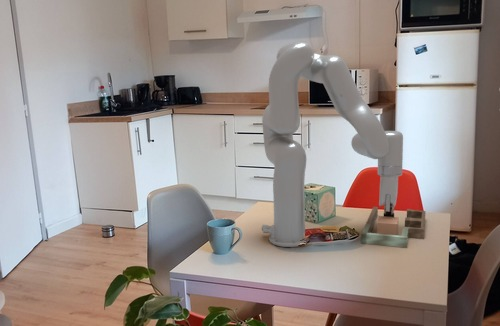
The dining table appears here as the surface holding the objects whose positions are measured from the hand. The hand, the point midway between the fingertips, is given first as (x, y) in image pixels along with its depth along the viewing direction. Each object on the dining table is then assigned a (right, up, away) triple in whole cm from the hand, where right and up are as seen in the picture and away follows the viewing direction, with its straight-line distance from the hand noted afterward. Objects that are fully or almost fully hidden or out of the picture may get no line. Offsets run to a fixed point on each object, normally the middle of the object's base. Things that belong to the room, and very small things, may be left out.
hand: (388, 225), depth 158 cm
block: (-2, -2, -5) cm, 6 cm away
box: (+2, -1, -1) cm, 3 cm away
